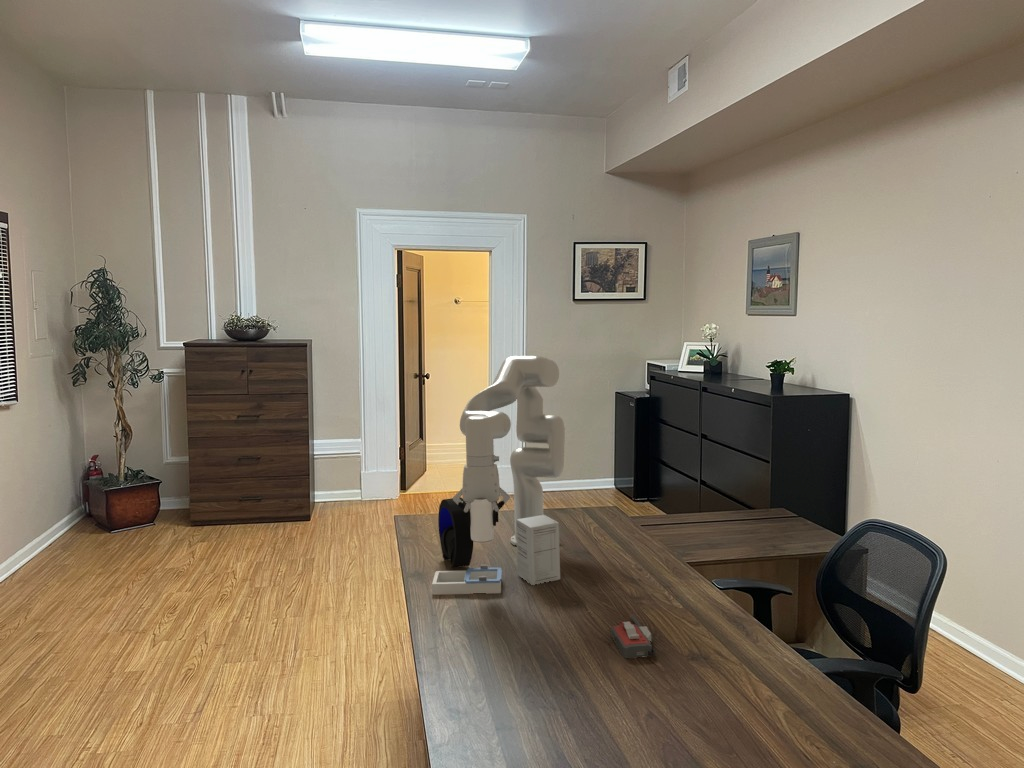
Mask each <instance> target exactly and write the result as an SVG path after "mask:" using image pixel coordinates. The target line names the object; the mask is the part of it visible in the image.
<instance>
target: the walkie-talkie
mask: <svg viewBox="0 0 1024 768" xmlns="http://www.w3.org/2000/svg"><path fill="white" fill-rule="evenodd" d="M636 617H637V616H635V615H634V614H631V615H630V619H631V620H632V622H633V623H632V622H631V621H622V622H620V624H618V625H617V624H615V625H613V626H611V628H610V638H611V637H612V638H613V639H612V638H611V639H612V641H613V640H614V641H613V642H615V643H616V644H615V643H614V644H615V646H616V645H617V646H616V647H617V649H618V648H619V649H620V650H619V649H618V650H619V653H620V654H621V656H622V655H623V656H624V657H625V658H624V657H623V656H622V657H623V658H624V659H626V658H634V657H642V656H651V657H654V656H656V650H654V648H653V645H652V632H650V630H649V628H648V626H643V625H642V624H641V622H640V621H639V620H638V619H637V618H636ZM650 641H651V642H650ZM634 659H635V658H634Z"/></svg>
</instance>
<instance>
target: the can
mask: <svg viewBox="0 0 1024 768" xmlns="http://www.w3.org/2000/svg"><path fill="white" fill-rule="evenodd" d="M469 508H470V525H471V526H470V530H471V539H472V541H473V543H489V542H492V541H493V540H494V538H495V526H493V510H494V508H493V506H492V503H491V502H488V501H487V498H486V499H475V500H474V502H472V503H471V504H470V507H469Z"/></svg>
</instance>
